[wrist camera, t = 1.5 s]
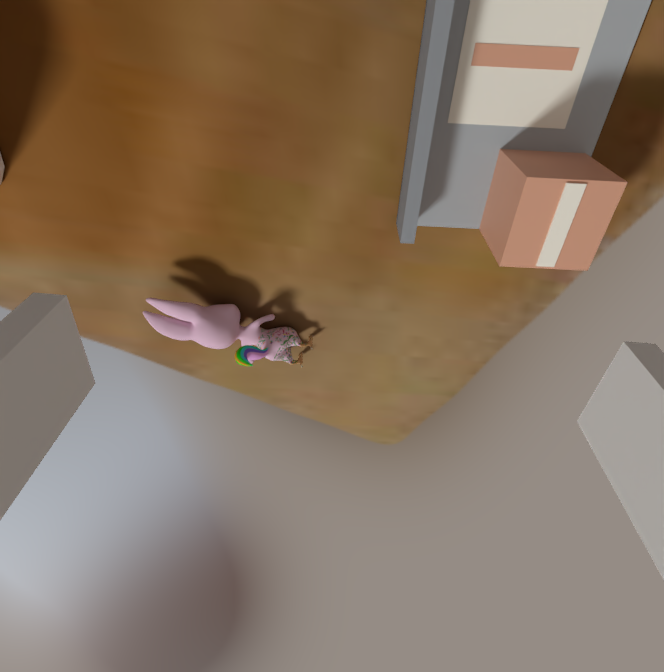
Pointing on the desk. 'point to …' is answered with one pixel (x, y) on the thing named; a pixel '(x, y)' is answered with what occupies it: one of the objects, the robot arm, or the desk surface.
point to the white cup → (1, 168)
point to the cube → (548, 208)
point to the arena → (506, 94)
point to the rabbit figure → (225, 330)
